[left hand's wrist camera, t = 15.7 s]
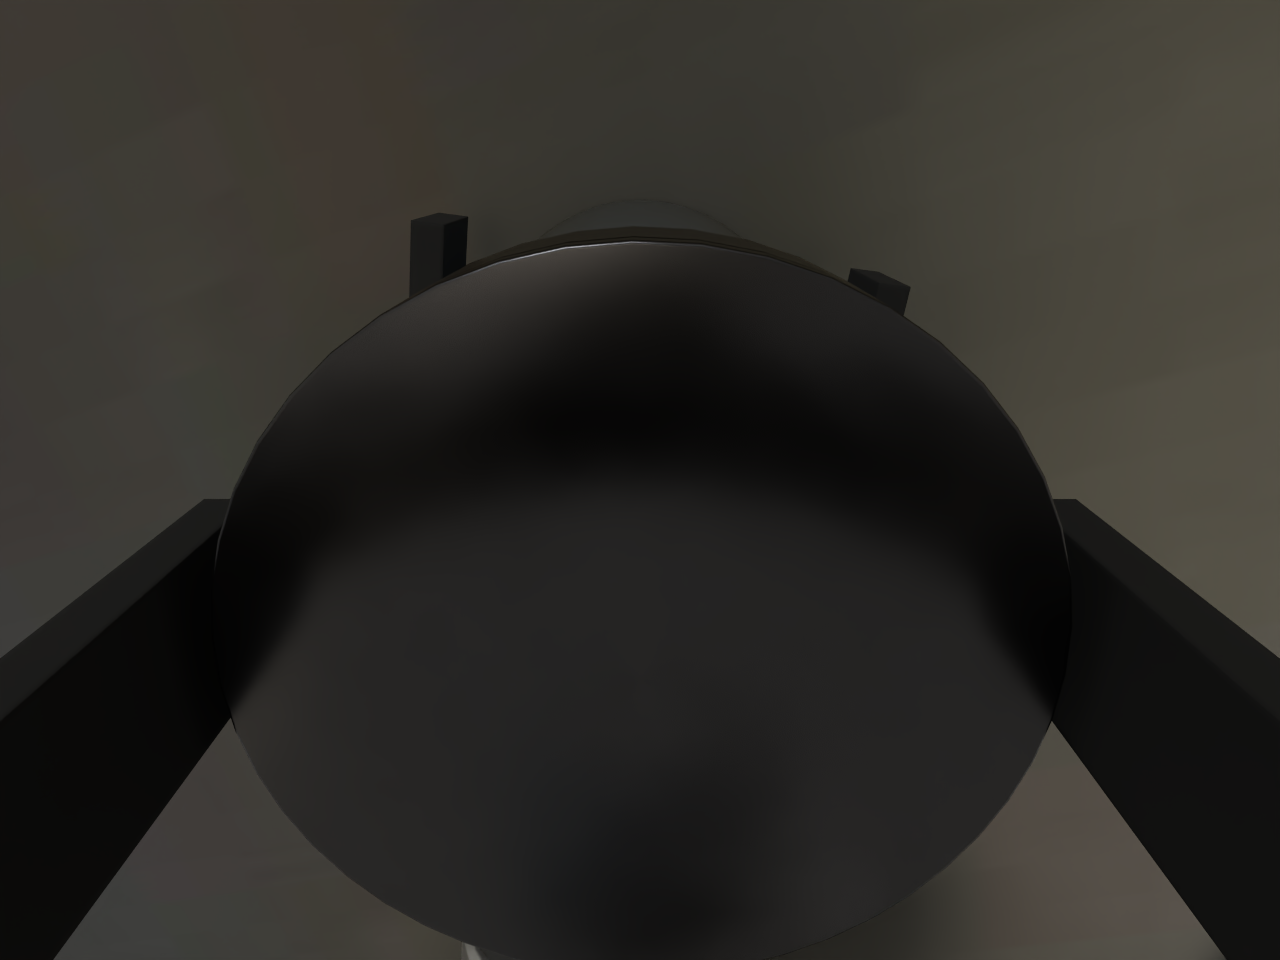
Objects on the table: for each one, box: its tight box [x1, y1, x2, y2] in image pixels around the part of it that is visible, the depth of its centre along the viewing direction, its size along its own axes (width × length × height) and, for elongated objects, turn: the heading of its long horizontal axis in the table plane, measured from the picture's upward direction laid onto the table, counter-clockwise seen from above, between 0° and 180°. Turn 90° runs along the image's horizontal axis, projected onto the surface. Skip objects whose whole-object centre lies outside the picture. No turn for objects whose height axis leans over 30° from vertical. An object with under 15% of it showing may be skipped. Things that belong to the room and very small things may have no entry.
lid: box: [211, 226, 1072, 960], centre depth 11 cm, size 11×11×2 cm
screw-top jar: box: [537, 200, 741, 240], centre depth 19 cm, size 10×10×17 cm
